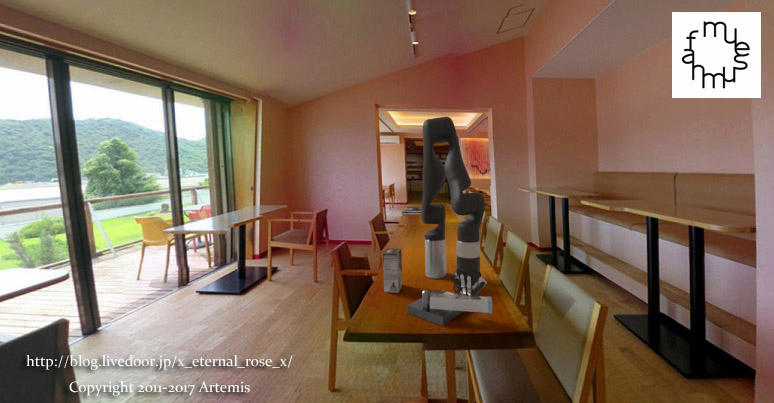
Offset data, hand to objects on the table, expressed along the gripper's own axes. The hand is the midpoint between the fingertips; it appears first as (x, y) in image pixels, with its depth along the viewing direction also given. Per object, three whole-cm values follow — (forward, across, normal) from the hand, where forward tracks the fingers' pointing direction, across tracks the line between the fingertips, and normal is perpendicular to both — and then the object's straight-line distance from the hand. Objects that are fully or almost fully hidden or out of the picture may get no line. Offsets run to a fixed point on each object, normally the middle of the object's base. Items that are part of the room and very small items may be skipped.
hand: (468, 304), depth 107 cm
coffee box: (+4, +36, -4) cm, 37 cm away
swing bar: (0, 0, +4) cm, 4 cm away
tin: (+5, +10, -18) cm, 22 cm away
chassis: (+4, +10, +2) cm, 11 cm away
